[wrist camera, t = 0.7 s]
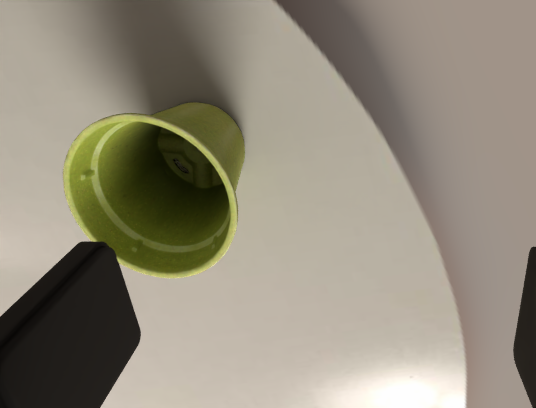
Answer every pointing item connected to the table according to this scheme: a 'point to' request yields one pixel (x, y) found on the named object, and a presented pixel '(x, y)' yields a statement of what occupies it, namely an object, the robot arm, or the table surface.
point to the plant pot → (158, 187)
